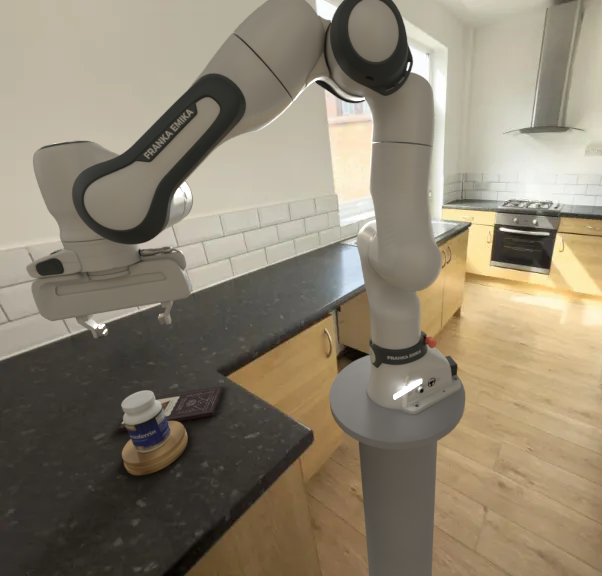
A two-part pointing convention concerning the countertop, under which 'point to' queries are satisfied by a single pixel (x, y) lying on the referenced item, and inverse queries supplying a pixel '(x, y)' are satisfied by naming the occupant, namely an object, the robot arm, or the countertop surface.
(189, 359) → the countertop surface
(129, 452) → the coaster pile
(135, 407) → the pill bottle
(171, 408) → the chocolate bar
